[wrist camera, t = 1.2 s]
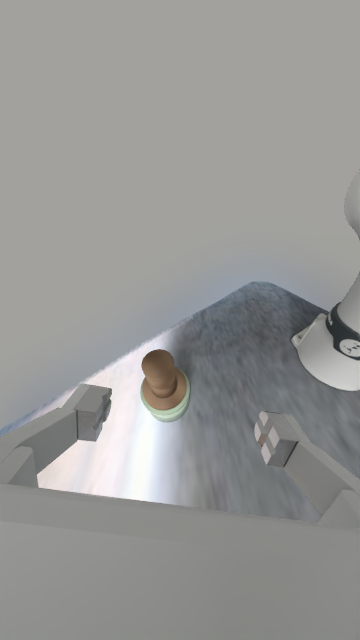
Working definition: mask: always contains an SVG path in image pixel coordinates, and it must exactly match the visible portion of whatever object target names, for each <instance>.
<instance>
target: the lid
mask: <svg viewBox="0 0 360 640" xmlns="http://www.w3.org/2000/svg"><path fill="white" fill-rule="evenodd" d="M142 370H143V372H144V374H145V379H144V381H143V385H142V392H143V396H144V398H145V400H146V402H147V403H148V404H149V405H150V406H151V407H152V408H154V409H156V410H161V411H166V410H170V409H173V408H175V407H176V406H178V405H179V404H180V403H181V402H182V400H183V399H184V397H185V394H186V390H187V384H186V379H185V376H184V374H183V373H182V372H181V371H180V370H179V369H178V368H176V367H174V362H173V358H172V356H171V354H170V353H169V352H167V351H165V350H161V349H158V350H153V351H151V352H149V353H148V354H147V355H146V356H145V357H144V359H143V361H142Z"/></svg>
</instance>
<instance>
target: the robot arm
mask: <svg viewBox="0 0 360 640" xmlns="http://www.w3.org/2000/svg"><path fill="white" fill-rule="evenodd" d="M344 211H345V216H346V219H347V221H348V223H349V225H350V226H351V227H352V228H353V229H354V230H355V232H356V234H357V235H358V237H359V239H360V170H359V171H358V172H357V174H356V175H355V177H354V178H353V180H352V182H351V184H350V186H349V188H348V191H347V194H346V197H345V204H344ZM291 341H292V343H293V345H294V346H295V347H296V349H297V351H298V355H299V358H300V361H301V362H302V364H303V365H304V367H305V368H306V369H307V370H308V371H309V372H310V373H311V374H312V375H313V376H315V377H316V378H317V379H319V380H320V381H322V382H324V383H326V384H328V385H330V386H332V387H335V388H338V389H342V390H349V391H355V390H360V272H359V275H358V277H357V278H356V280H355V282H354V284H353V285H352V287H351V288H350V290H349V292H348V293H347V295H346V296H345V297H344V299H343V300H342V302H340V303H338V304H337V305H336V306H335V307H334V308H333V309H332V310H331V311H330V312H329V314H328V316H326V315H325V314H323V313H321V314H319V315H318V317H317V318H316V319H315V320H314V321H313V324H312V325H310V326H309V327H307V328H306V329H304V330H303V331H301V332H299V333H298V334H296V335H295V336H294V337H293V338H292V339H291ZM111 395H112V389H111V388H106V387H100V386H94V385H87V384H81V385H80V386H79V387H78V388H77V389H76V391H75V392H74V393H73V394H72V395H71V397H70V398H69V399H68V400H67V402H66V403H65V404H64V405H63V406H62V408H56V409H54V410H53V411H51V412H49V413H47V414H45V415H43V416H41V417H39V418H37V419H35V420H33V421H31V422H29V423H27V424H25V425H23V426H22V427H20V428H18V429H16V430H14V431H12V432H10V433H8V434H6V435H4V436H2V437H0V640H360V480H359V479H358V478H357V477H355V476H354V475H353V474H352V473H350V472H349V471H348V470H347V469H345V468H344V467H343V466H342V465H340V464H339V463H338V462H336V461H335V460H334V459H333V458H331V457H330V456H329V455H328V454H326V453H325V452H324V451H323V450H321V449H320V448H319V447H317V446H316V445H315V444H311V442H310V441H309V439H308V438H307V436H306V435H305V433H304V432H303V430H302V429H301V428H300V426H299V425H298V423H297V422H296V420H295V419H294V417H293V416H292V415H290V414H283V413H275V412H268V411H262V412H261V413H260V415H259V417H260V419H261V420H259V421H258V422H256V425H255V437H256V440H257V442H258V443H259V444H260V445H261V446H262V449H261V452H262V455H263V457H264V460H265V462H266V465H270V466H276V467H282V468H284V470H285V471H286V472H287V474H288V475H289V476H290V477H291V478H292V480H293V481H294V482H295V483H296V484H297V485H298V487H299V488H300V489H301V490H302V491H303V493H304V494H305V495H306V496H307V497H308V499H309V500H310V501H311V502H312V503H313V504H314V506H315V507H316V508H317V509H318V510H319V512H320V513H321V514H322V516H321V518H320V519H319V520H318V522H317V523H314V522H306V521H298V520H290V519H282V518H274V517H266V516H259V515H251V514H243V513H235V512H227V511H219V510H211V509H203V508H195V507H187V506H179V505H171V504H163V503H155V502H147V501H139V500H131V499H123V498H115V497H107V496H99V495H92V494H84V493H76V492H68V491H60V490H52V489H44V488H39V487H38V481H37V474H38V473H39V472H41V471H42V470H43V469H44V468H45V467H47V466H48V465H49V464H50V463H51V462H53V461H54V460H55V459H56V458H57V457H59V456H60V455H61V454H62V453H63V452H65V451H66V450H67V449H68V448H69V447H71V446H72V445H73V444H74V443H75V442H77V440H86V441H96V440H97V438H98V436H99V434H100V432H101V430H102V423H103V422H105V421H106V419H107V417H108V415H109V412H110V408H111V400H110V399H109V398H110V396H111Z"/></svg>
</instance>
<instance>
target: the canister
mask: <svg viewBox="0 0 360 640" xmlns="http://www.w3.org/2000/svg"><path fill="white" fill-rule="evenodd" d="M176 368H177V367H176ZM178 369H179V368H178ZM179 370H180V369H179ZM180 371H181V372H182V373H183V374H184V376H185V379H186V384H187V390H186V394H185V397H184V399H183V400H182V402H181V403H180V404H179V405H178V406H176V407H175V408H173V409H170V410H166V411H161V410H156V409H154V408H152V407H151V406H150V405H149V404H148V403H147V402H146V400H145V398H144V396H143V392H142V385H143V382H142V385H141V399H142V401H143V403H144V405H145V407H146V408H147V409H148V410H149V411H150V412H151V414H152V415H153V416H154V417H155V418H156V419H157V420H159V421H162V422H173V421H176V420H178V419H179V418H181V417H182V416H183V415H184V414H185V412H186V410H187V408H188V406H189V393H190V384H189V380H188V378H187V376H186V374H185V373H184V372H183V371H182V370H180ZM144 379H145V378H144ZM143 381H144V380H143Z"/></svg>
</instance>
